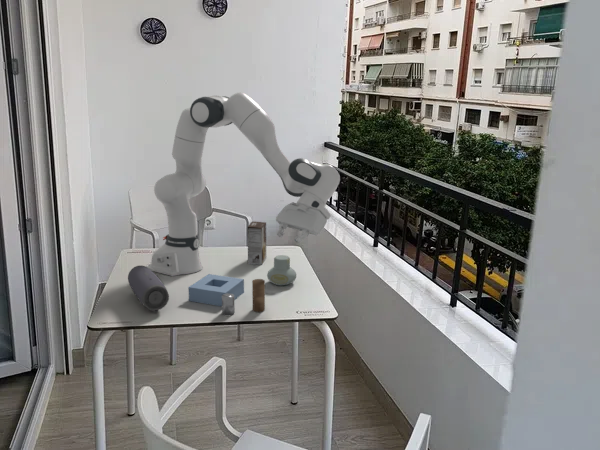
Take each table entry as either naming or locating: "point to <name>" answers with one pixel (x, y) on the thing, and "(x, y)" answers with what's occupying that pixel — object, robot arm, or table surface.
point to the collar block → (215, 289)
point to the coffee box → (256, 243)
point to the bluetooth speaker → (148, 288)
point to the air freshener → (281, 271)
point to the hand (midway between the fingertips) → (287, 238)
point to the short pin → (228, 304)
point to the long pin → (258, 295)
